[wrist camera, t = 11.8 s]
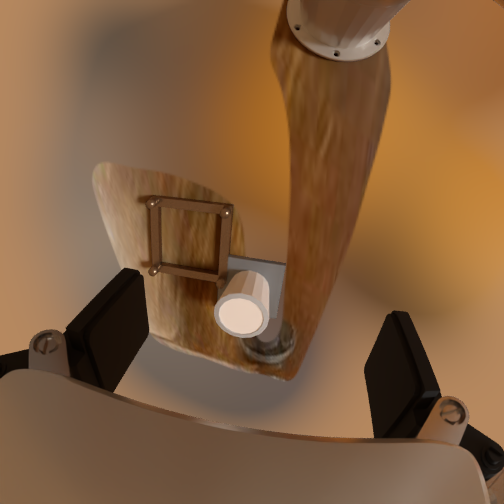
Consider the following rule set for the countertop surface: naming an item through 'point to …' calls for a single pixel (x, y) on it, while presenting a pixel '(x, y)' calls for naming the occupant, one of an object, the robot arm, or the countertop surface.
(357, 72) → the countertop surface
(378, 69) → the countertop surface
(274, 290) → the coaster
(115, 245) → the countertop surface
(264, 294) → the shot glass
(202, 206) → the brown square frame
